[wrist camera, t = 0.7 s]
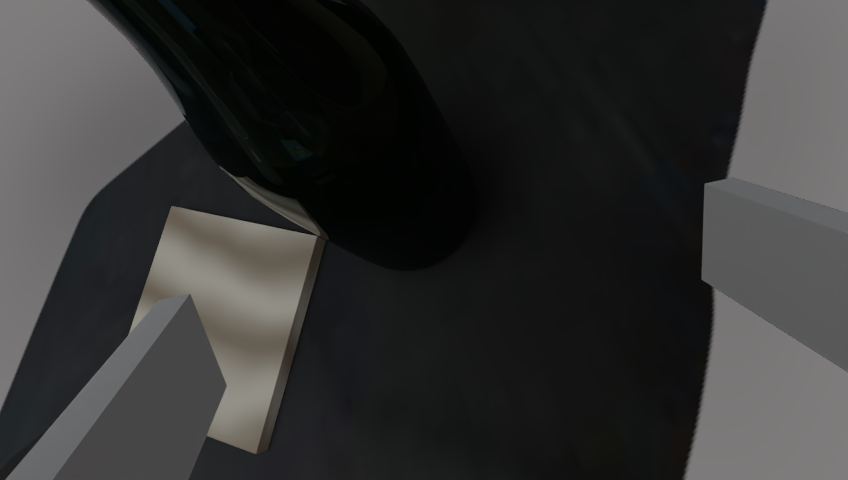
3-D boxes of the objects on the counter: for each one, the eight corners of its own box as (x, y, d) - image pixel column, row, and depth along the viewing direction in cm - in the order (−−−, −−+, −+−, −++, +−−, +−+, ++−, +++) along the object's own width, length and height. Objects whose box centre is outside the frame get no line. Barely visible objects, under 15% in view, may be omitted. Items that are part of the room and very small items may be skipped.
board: (184, 210, 42) (171, 206, 41) (326, 240, 38) (317, 236, 37) (123, 396, 40) (107, 398, 38) (267, 449, 35) (255, 454, 34)
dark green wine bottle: (401, 116, 39) (-234, -855, 7) (506, 187, 35) (143, -1073, 4) (320, 220, 38) (-672, -331, 7) (418, 301, 35) (-677, -87, 4)
